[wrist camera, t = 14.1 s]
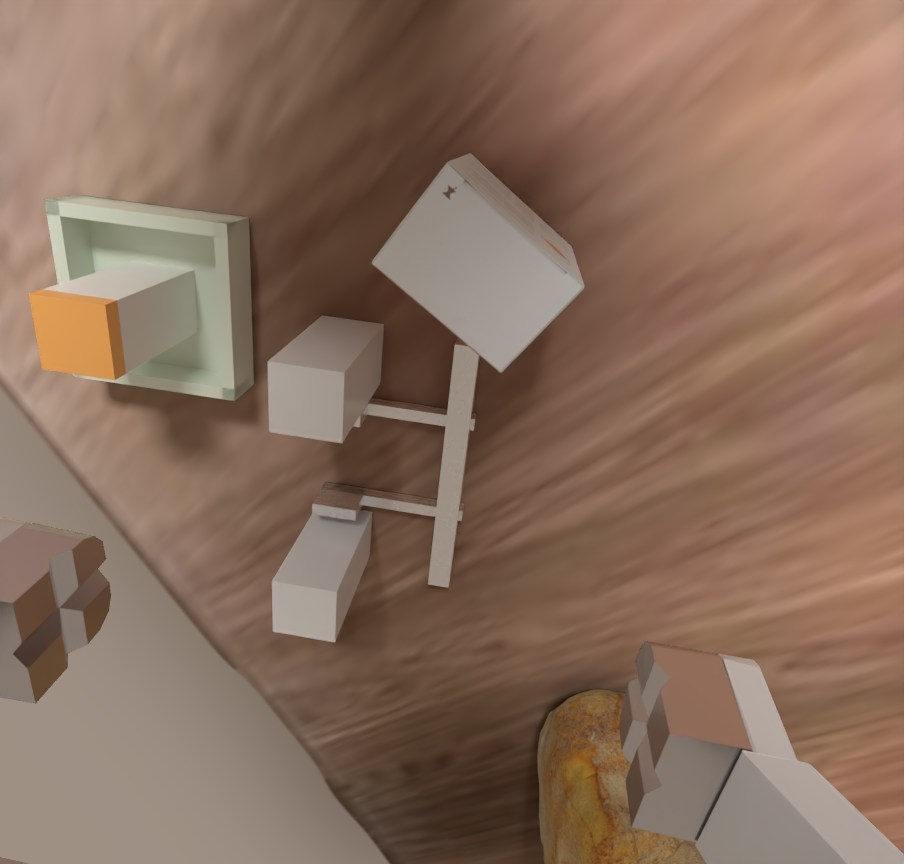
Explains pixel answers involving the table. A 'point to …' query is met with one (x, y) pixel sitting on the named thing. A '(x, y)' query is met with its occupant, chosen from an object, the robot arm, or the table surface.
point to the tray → (179, 245)
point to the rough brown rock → (593, 790)
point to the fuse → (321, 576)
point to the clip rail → (448, 504)
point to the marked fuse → (114, 318)
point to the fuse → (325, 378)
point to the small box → (481, 262)
